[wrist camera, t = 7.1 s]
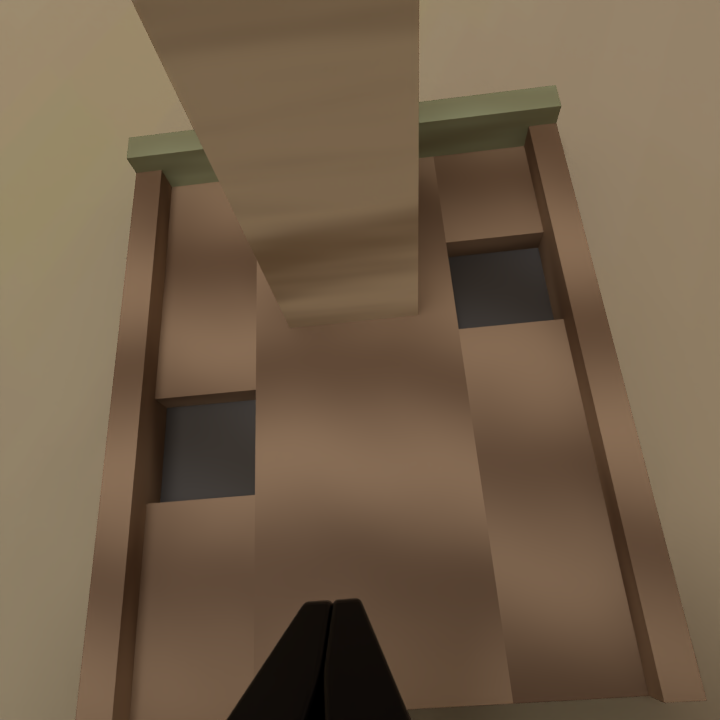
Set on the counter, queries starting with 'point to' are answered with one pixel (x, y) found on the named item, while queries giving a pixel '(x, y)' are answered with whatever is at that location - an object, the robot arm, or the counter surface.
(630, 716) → the counter surface
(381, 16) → the beech block
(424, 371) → the trap lane
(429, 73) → the counter surface
